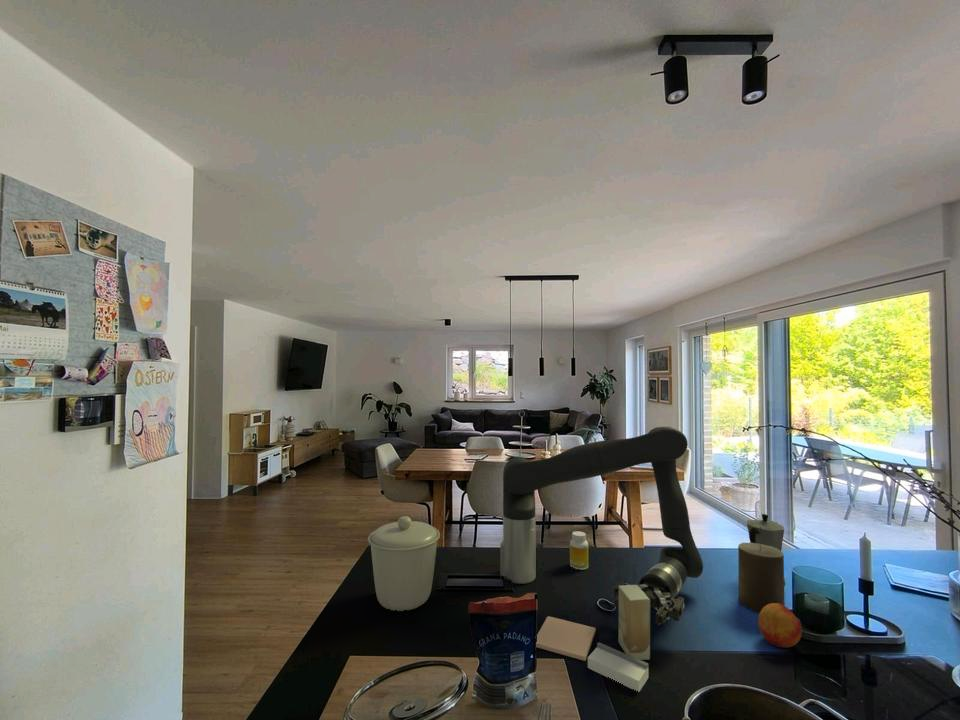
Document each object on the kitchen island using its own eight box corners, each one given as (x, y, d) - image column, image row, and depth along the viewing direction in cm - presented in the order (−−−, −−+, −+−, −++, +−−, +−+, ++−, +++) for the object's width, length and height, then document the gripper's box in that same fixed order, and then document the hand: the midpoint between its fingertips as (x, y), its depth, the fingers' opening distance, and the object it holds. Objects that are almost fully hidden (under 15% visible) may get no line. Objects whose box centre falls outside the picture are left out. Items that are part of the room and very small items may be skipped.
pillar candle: (770, 619, 101) (770, 554, 101) (730, 600, 109) (729, 540, 110) (793, 609, 105) (792, 547, 106) (752, 591, 114) (752, 534, 114)
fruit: (812, 658, 87) (811, 618, 87) (768, 653, 88) (767, 614, 89) (791, 635, 95) (790, 598, 95) (751, 631, 96) (750, 595, 96)
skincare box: (617, 642, 92) (617, 584, 92) (637, 641, 92) (636, 583, 93) (630, 662, 86) (629, 599, 86) (651, 660, 86) (650, 598, 86)
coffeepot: (758, 566, 129) (757, 506, 129) (795, 578, 121) (793, 514, 122) (733, 580, 120) (732, 515, 121) (771, 594, 112) (770, 525, 113)
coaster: (533, 646, 91) (533, 642, 91) (547, 619, 101) (547, 616, 101) (585, 661, 86) (585, 657, 86) (595, 631, 96) (595, 627, 96)
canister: (385, 580, 120) (386, 504, 120) (448, 587, 116) (448, 508, 117) (353, 616, 102) (354, 526, 103) (426, 625, 98) (426, 531, 99)
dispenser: (587, 667, 84) (587, 654, 84) (598, 655, 88) (598, 642, 88) (638, 692, 77) (638, 677, 78) (648, 677, 81) (648, 663, 81)
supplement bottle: (588, 571, 126) (588, 537, 126) (570, 569, 127) (569, 536, 127) (588, 563, 131) (587, 531, 131) (570, 561, 132) (569, 529, 132)
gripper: (631, 560, 108) (604, 584, 95) (692, 577, 98) (671, 606, 86) (631, 590, 107) (604, 618, 95) (693, 610, 98) (672, 644, 86)
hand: (636, 612), depth 90 cm, fingers open, 8 cm apart
